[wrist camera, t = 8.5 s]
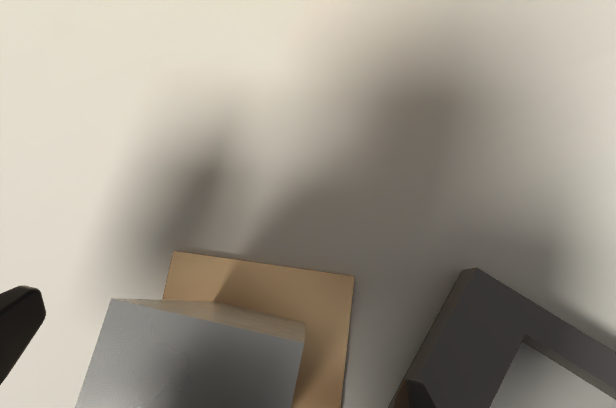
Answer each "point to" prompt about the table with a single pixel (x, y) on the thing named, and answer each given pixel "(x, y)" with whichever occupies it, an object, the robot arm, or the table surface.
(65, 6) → the table surface
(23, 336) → the robot arm
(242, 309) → the gray block
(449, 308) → the dark gray slotted board
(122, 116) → the table surface
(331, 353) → the cork pad
